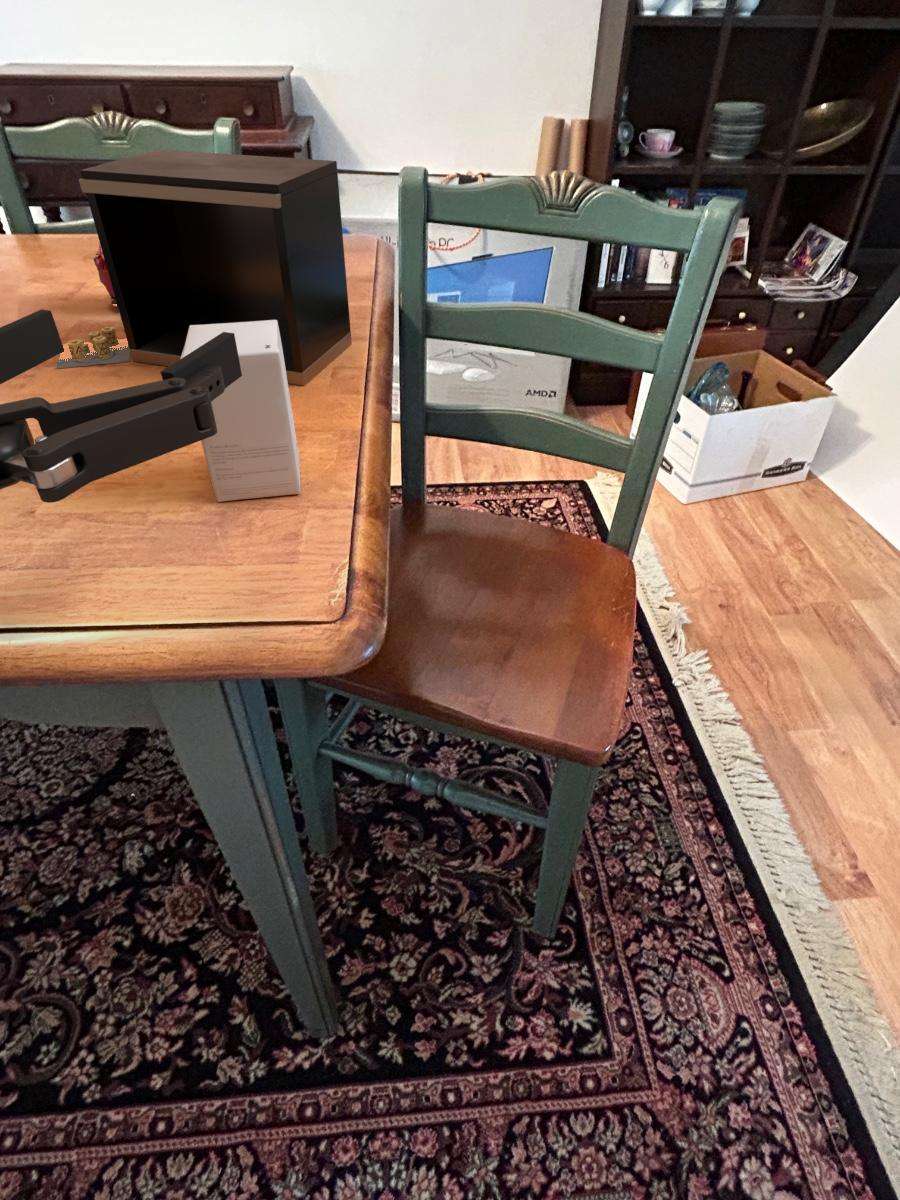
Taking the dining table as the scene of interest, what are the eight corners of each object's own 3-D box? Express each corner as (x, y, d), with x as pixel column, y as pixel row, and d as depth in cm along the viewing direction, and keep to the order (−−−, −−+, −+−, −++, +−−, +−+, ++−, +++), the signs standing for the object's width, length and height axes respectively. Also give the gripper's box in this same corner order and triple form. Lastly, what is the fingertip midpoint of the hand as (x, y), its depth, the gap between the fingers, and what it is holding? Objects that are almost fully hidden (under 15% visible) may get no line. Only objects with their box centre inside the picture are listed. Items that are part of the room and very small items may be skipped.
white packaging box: (300, 454, 68) (281, 317, 60) (301, 496, 63) (280, 351, 55) (219, 461, 68) (188, 322, 59) (213, 504, 62) (178, 357, 54)
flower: (85, 308, 94) (109, 254, 91) (77, 274, 99) (99, 221, 96) (159, 338, 101) (183, 288, 97) (147, 304, 106) (170, 256, 102)
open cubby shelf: (130, 363, 85) (75, 171, 72) (195, 324, 95) (157, 149, 82) (302, 388, 80) (275, 186, 67) (351, 344, 90) (336, 160, 77)
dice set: (119, 341, 90) (114, 326, 89) (116, 357, 86) (111, 341, 85) (74, 345, 89) (69, 330, 88) (70, 361, 85) (65, 345, 84)
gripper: (-308, 533, 37) (6, 374, 53) (107, 635, 31) (322, 422, 47) (-420, 392, 32) (-39, 263, 48) (45, 481, 27) (307, 301, 42)
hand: (140, 341), depth 47 cm, fingers open, 13 cm apart
